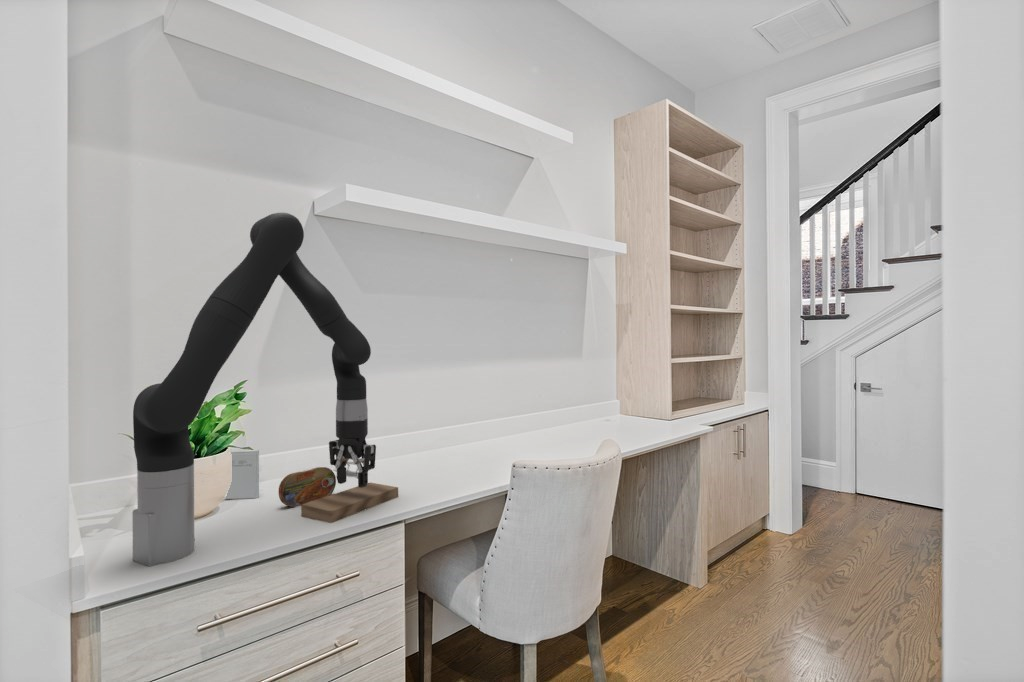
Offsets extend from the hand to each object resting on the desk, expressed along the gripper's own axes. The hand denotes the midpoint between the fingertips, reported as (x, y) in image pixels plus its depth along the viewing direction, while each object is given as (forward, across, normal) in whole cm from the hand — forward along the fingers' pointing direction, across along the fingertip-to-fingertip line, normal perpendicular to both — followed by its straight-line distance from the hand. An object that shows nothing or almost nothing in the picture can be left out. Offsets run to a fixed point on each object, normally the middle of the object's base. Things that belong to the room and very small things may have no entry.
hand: (352, 484), depth 131 cm
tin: (+6, -14, -2) cm, 15 cm away
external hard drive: (+6, -32, -8) cm, 34 cm away
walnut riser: (+6, 0, 0) cm, 6 cm away
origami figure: (+6, -23, +22) cm, 32 cm away
